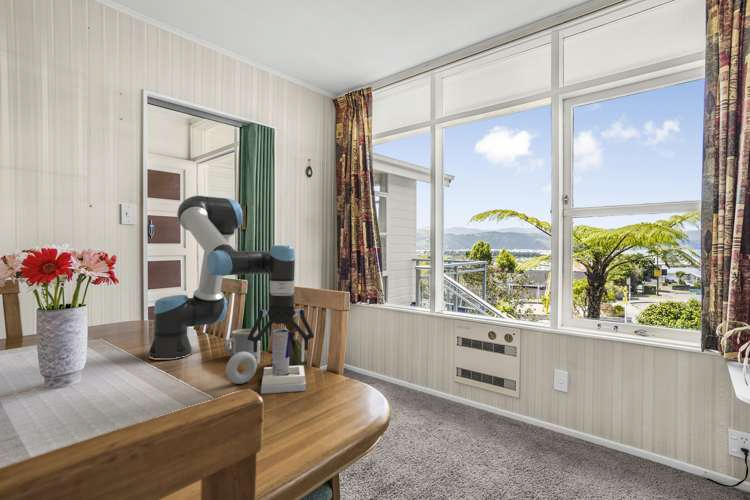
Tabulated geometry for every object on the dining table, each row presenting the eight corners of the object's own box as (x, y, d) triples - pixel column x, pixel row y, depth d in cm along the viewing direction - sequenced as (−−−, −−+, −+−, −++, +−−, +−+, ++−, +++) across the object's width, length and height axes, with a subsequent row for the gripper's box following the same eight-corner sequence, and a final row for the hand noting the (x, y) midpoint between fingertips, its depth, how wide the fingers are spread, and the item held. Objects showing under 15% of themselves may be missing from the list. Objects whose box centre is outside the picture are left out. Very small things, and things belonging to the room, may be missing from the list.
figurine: (286, 358, 150) (287, 307, 150) (317, 363, 144) (318, 310, 145) (261, 368, 137) (262, 312, 137) (293, 374, 131) (294, 316, 131)
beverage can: (291, 376, 123) (292, 329, 123) (283, 381, 118) (283, 332, 118) (278, 374, 125) (278, 327, 125) (268, 379, 120) (269, 331, 120)
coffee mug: (252, 352, 159) (252, 327, 159) (261, 357, 151) (261, 332, 152) (218, 357, 151) (219, 331, 151) (226, 363, 143) (227, 336, 143)
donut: (253, 378, 127) (254, 348, 127) (258, 381, 124) (259, 350, 124) (223, 385, 120) (224, 353, 120) (228, 388, 117) (228, 355, 117)
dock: (264, 376, 129) (264, 364, 129) (303, 374, 132) (303, 362, 132) (260, 393, 114) (261, 380, 114) (305, 390, 117) (305, 377, 117)
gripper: (238, 296, 115) (237, 367, 115) (322, 295, 121) (321, 362, 121) (241, 293, 123) (240, 359, 123) (320, 292, 128) (319, 356, 128)
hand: (280, 361), depth 122 cm, fingers open, 13 cm apart
